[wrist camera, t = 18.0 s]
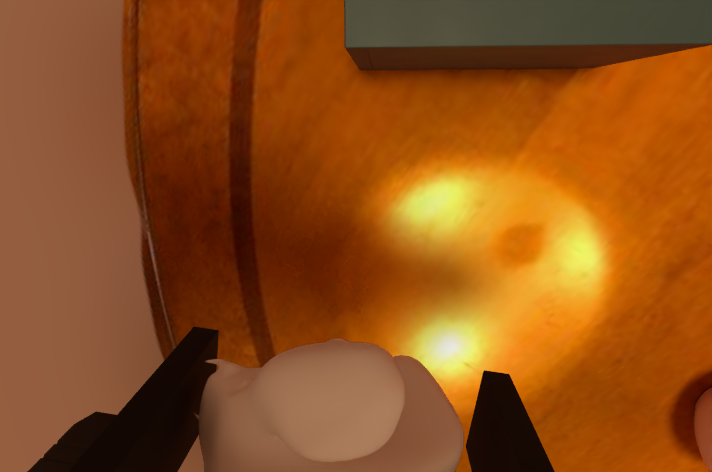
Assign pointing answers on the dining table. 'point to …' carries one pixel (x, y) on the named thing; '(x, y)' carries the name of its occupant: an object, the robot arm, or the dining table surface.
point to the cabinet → (520, 32)
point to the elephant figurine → (328, 414)
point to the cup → (704, 427)
